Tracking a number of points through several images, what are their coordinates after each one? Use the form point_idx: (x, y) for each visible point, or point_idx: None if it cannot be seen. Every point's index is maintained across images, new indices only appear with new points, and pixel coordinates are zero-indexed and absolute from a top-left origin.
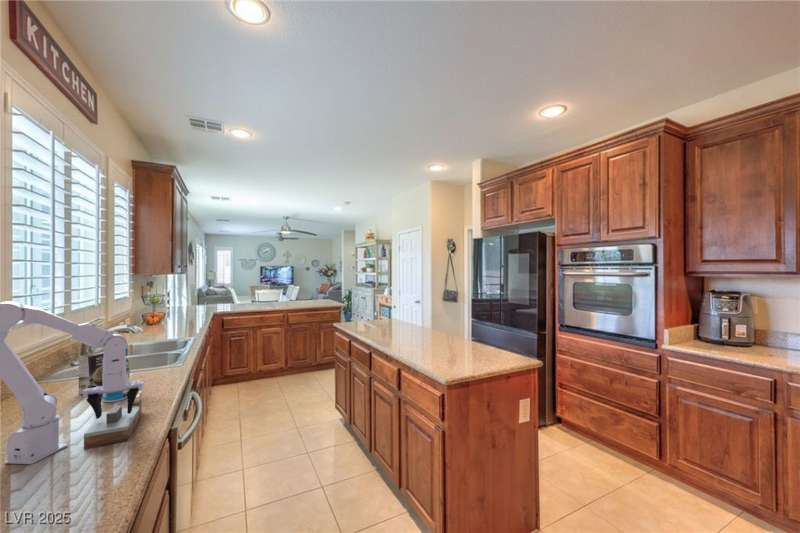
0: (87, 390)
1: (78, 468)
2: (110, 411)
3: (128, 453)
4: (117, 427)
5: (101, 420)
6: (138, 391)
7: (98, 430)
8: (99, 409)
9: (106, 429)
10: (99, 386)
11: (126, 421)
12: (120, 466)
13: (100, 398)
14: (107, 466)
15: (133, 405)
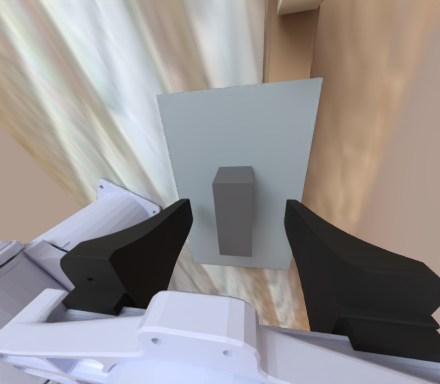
0: (45, 377)
1: (224, 287)
2: (225, 237)
3: (289, 282)
4: (263, 264)
5: (196, 194)
6: (396, 258)
7: (220, 260)
8: (179, 234)
9: (238, 264)
10: (53, 357)
11: (281, 239)
12: (283, 308)
13: (148, 257)
14: (264, 300)
15: (285, 31)
